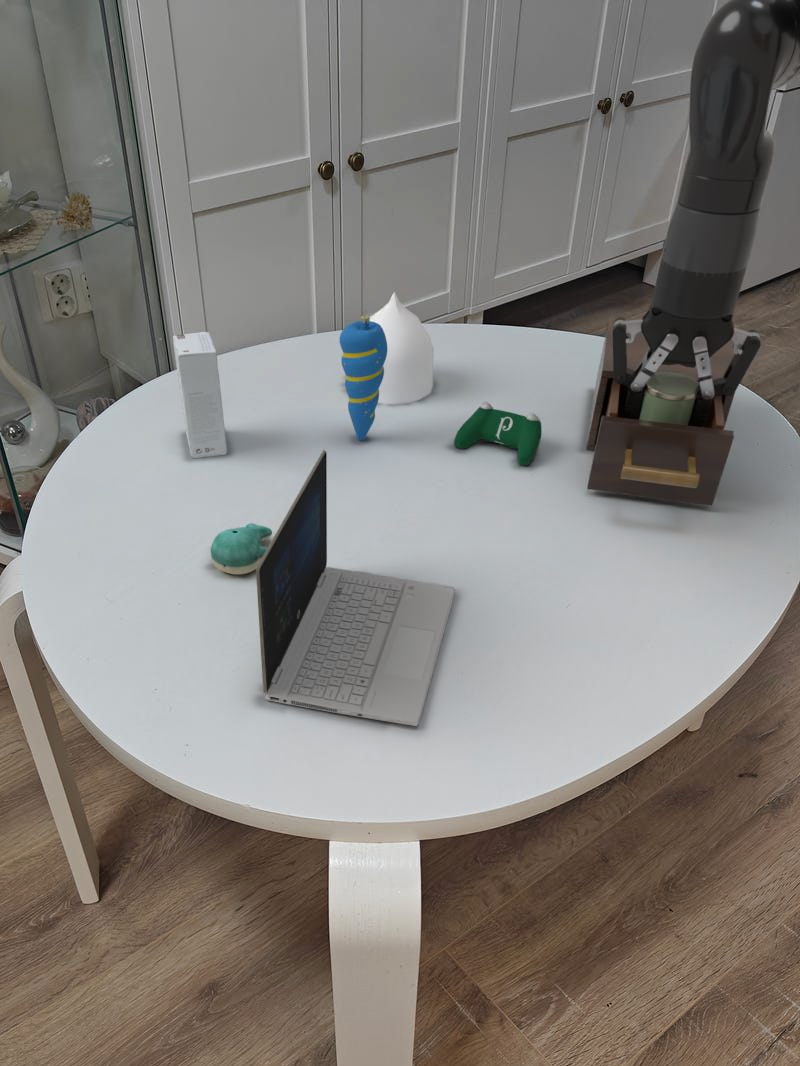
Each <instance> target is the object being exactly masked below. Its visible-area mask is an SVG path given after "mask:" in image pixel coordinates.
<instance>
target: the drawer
mask: <svg viewBox="0 0 800 1066" xmlns="http://www.w3.org/2000/svg"><path fill="white" fill-rule="evenodd" d="M628 390H629V389H628V387H627V386H625V385H623V384H616V383H615V382H614V378H612V379H611V384H610V389H609V393H608V398H607V403H606V407H605V412H604V416H602V418H601V423H600V428H599V433H598V437H597V442H596V447H595V451H593V457H592V461H591V467H590V471H589V474H588V475H589V476H588V480H587V486H586V487H587V488H586V489H587V490H591V491H592V490H593V491H598V492H599V491H600V492H606V493H607V492H608V493H614V494H621V495H630V496H636V497H644V498H650V499H657V500H658V499H659V500H666V501H673V502H679V503H688V504H695V505H696V504H697V505H703V506H710V507H713V504H714V501H715V499H716V495H717V492H718V488H719V485H720V482H721V479H722V476H723V473H724V469H725V468H726V467H725V466H726V463H727V460H728V458H729V454H730V451H731V447H732V444H733V441H734V438H735V432H734V430H729V429H725V427H726V424H725V425H724V415H723V406H722V396H721V395H720V396H716V397H714V398H713V399H712V401H711V404H710V407H709V411H708V414H707V418H706V421H705V424H704V425H703V426H702V427H696V426H687V425H679V424H670V423H662V422H653V421H645V420H636V419H628V418H625V416H624V408H625V404H626V399H627V395H628ZM724 426H725V427H724Z"/></svg>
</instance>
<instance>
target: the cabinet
mask: <svg viewBox="0 0 800 1066" xmlns="http://www.w3.org/2000/svg"><path fill="white" fill-rule="evenodd" d="M617 318H618V317H608V320H607V324H606V325H607V326H606V330H605V335H604V339H603V344H602V345H603V346H602V351H601V355H600V361H599V365H598V369H597V370H598V371H597V374H596V380H595V386H594V390H593V396H592V404H591V412H590V419H589V425H588V432H587V441H586V446H585V447H586V448H585V451H589V452H595V447H596V442H597V437H598V433H599V428H600V423H601V418H602V416H604V412H605V407H606V403H607V398H608V393H609V389H610V384H611V379H612V378H613V326H614V321H615V319H617ZM625 319H626V321H628V320H632V319H630V318H625ZM732 346H733V341H731V340H730V341H728V342H727V343H726V344H725V345H724V346H723V347H722V348H720V349H719V350H718V351H717V352H716V353H715V354H713V355H712V356H711V357H710V361H711V368H712V375H713V379H718V378H722V377H723V375H724V374H725V372H726V370H727V368H728V366H729V364H730V362H731V361H732V359H733V357H734V352H733V347H732ZM648 349H649V345H648V343H647V341H646V339H645V337H644V335H643V333H642V332H638V333H637V334H636V335H635V339H634V341H633V342H632V343H631V344H627V368H629V369H632V370H634V371H635V369H636V368H637V367H638V365H639V364H640V362H641V361H642V359H643V356H644V355H645V353H646V352H647V350H648ZM662 372H668V373H677V374H682V375H685V376H688V377H691V378H693V379H694V380H696V381H697V382H698V383H699V378H698V372H697V366H695V368H692V367H685V366H683V365H680V364H675V365H662V364H661V365H660V367H659V368H658V370H657V371H656V372H655V373H662ZM699 384H700V383H699ZM735 394H736V392H735V393H734V394H733V395H731V396H725V395H721V396H722V406H723V415H724V425H725V426H724V428H725V427H726V423H727V420H728V417H729V413H730V411H731V407H732V403H733V401H734V398H735Z"/></svg>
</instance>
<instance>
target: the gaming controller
mask: <svg viewBox="0 0 800 1066" xmlns="http://www.w3.org/2000/svg"><path fill="white" fill-rule="evenodd" d="M541 438H542V422H541V419H540V418H539V416H537V414H535V413H534V412H529V413H528V414H527V415H526V416H525V415H522V414H518V413H514V412H510V411H507V410H501V409H494V407H493V406H492V405H491V404H490V403H489V402H488V401H483V402H482V403H481V405H480V406H479V407H478V408H477V410H475V411H474V412H473V414H471V416H470V417H468V418H467V420H466V421H465V422H464V423H463V424H461V427H460V428H459V429H458V430H457V432H456V435H455V437H454V440H453V445H454V447H456V448H457V449H461V450H465V449H467V448H469V447H470V446H472V445H473V444H475V443H476V442H477V441H478V440H481V439H482V440H484V441H485V442H487V443H496V444H497V443H498V444H500V445H504V446H507V447H509V448H511V449H517V462H518V464H519V465H521V466H523V467H524V466H525V467H526V466H529V465H530V463H531V462H532V460H533V458H534V456H535V455H536V453H537V450H538V448H539V446H540V442H541V440H542V439H541Z"/></svg>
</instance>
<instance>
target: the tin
mask: <svg viewBox="0 0 800 1066" xmlns="http://www.w3.org/2000/svg"><path fill="white" fill-rule="evenodd" d="M699 391H700V384H699V383H698V382H697V381H696V380H694V379H693V378H691V377H688V376H685V375H682V374H677V373H668V372H662V373H655V374H654V375H652V376H651V377H650V379H649V380H648V382H647V383H646V384H645V386H644V390H643V397H642V401H641V406H640V410H639V414H638V418H637V420H645V421H653V422H662V423H670V424H679V425H687V426H689V423H690V419H691V416H692V412H693V409H694V405H695V402H696V398H697V395H698V394H699Z"/></svg>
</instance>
